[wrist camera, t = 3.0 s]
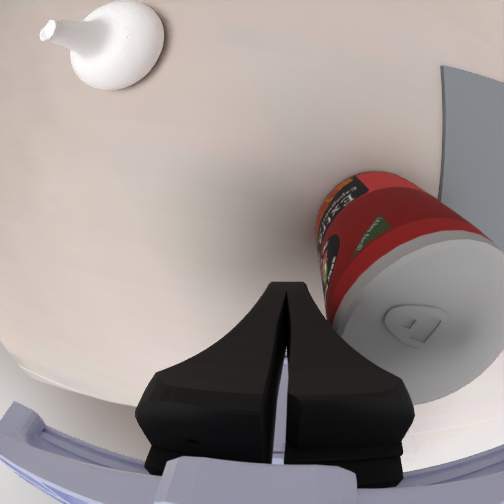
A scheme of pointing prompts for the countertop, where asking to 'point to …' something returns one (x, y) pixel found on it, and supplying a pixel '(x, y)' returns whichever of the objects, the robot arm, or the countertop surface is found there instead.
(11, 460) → the robot arm
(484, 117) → the slate mat
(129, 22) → the garlic bulb
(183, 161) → the countertop surface
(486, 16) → the countertop surface
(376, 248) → the canned food
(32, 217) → the countertop surface
